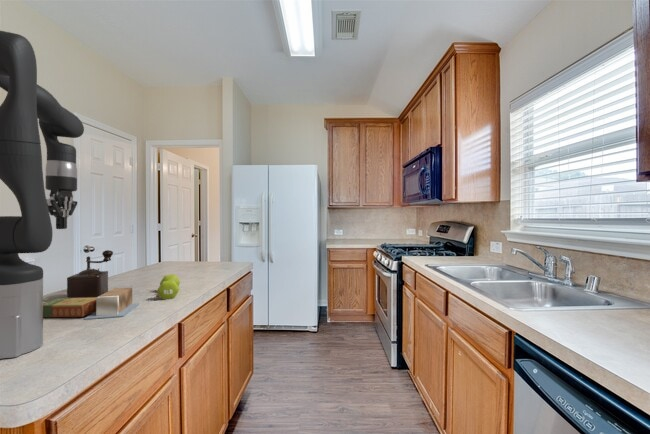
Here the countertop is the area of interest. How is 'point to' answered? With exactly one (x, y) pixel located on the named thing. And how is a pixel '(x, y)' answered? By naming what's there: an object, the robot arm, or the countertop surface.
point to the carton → (69, 307)
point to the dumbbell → (168, 287)
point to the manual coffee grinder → (89, 280)
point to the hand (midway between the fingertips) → (61, 228)
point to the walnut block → (113, 301)
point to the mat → (121, 314)
